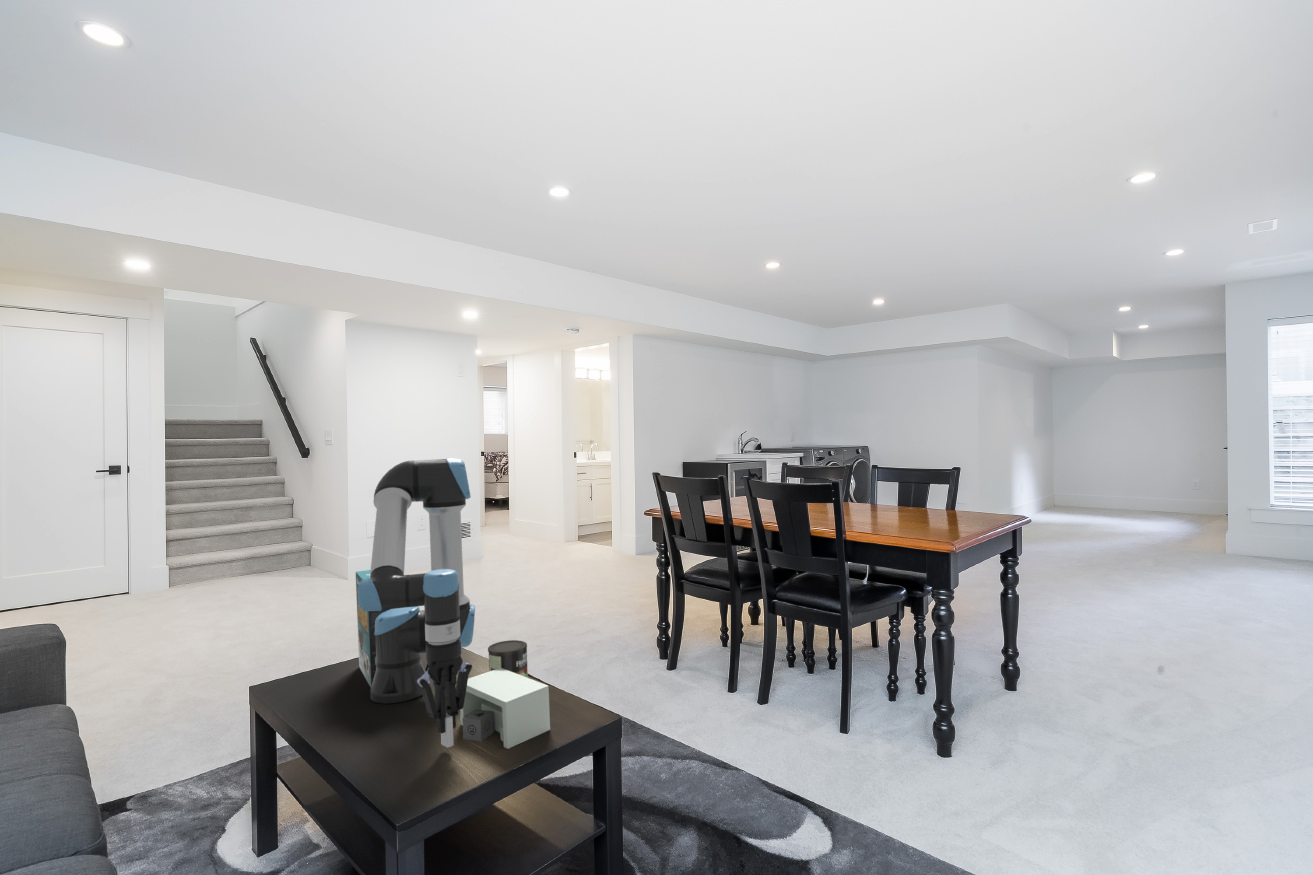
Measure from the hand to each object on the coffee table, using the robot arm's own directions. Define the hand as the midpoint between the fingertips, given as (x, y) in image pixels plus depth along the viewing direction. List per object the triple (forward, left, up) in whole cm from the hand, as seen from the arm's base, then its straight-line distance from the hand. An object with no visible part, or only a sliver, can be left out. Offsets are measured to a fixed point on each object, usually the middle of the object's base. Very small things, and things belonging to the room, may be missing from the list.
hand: (447, 744), depth 145 cm
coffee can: (-14, +26, -2) cm, 30 cm away
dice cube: (-1, +9, -2) cm, 9 cm away
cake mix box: (-62, +11, -2) cm, 63 cm away
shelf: (0, +15, -2) cm, 15 cm away
